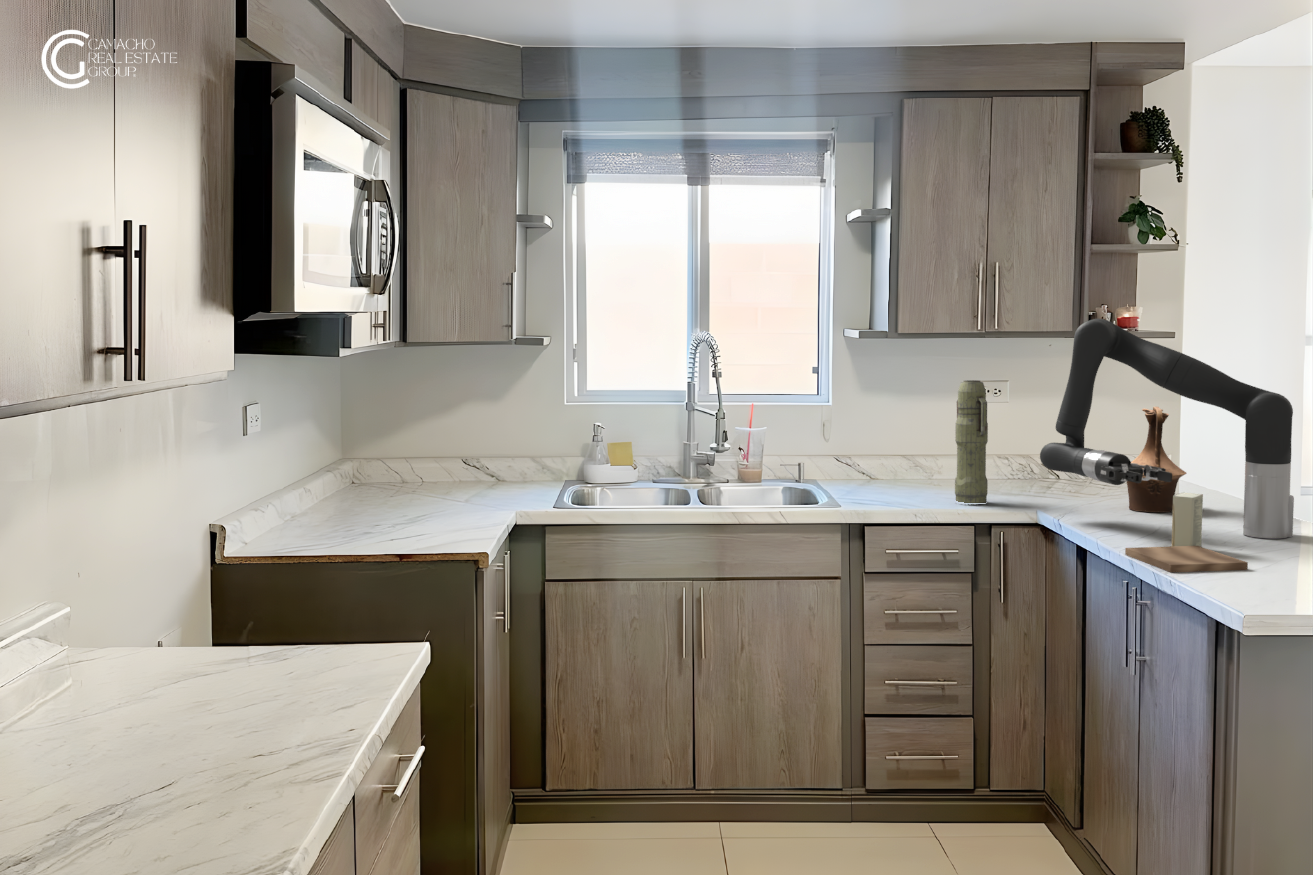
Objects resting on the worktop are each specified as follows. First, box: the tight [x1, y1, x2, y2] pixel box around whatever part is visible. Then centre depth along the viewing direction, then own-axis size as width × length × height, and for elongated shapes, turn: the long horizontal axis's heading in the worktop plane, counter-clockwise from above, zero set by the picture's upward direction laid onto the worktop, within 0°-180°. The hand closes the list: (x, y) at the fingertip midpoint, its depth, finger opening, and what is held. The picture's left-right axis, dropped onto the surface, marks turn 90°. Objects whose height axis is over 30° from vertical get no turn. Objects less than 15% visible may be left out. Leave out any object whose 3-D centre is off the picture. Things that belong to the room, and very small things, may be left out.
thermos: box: [954, 380, 989, 503], centre depth 308 cm, size 9×12×35 cm
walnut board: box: [1124, 546, 1249, 573], centre depth 225 cm, size 16×18×2 cm
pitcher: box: [1126, 406, 1187, 513], centre depth 290 cm, size 18×17×28 cm
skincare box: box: [1170, 491, 1204, 547], centre depth 238 cm, size 6×4×12 cm
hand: (1155, 478), depth 246 cm, fingers open, 8 cm apart
